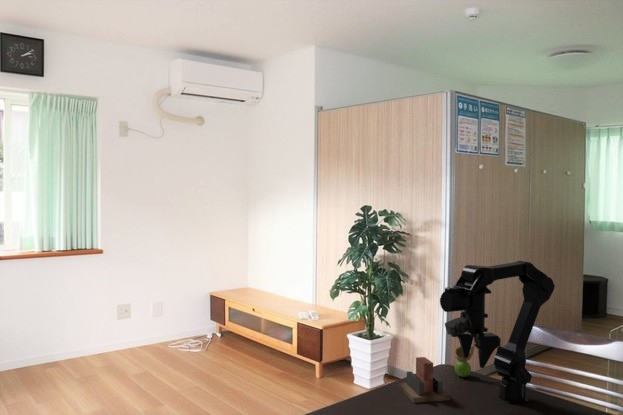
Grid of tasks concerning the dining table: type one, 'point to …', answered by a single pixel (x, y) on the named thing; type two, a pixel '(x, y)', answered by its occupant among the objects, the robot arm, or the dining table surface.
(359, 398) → the dining table surface
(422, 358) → the reddish brown block
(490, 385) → the dining table surface
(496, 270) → the robot arm
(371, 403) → the dining table surface
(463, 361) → the snail figurine
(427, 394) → the bookend shelf
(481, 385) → the dining table surface
